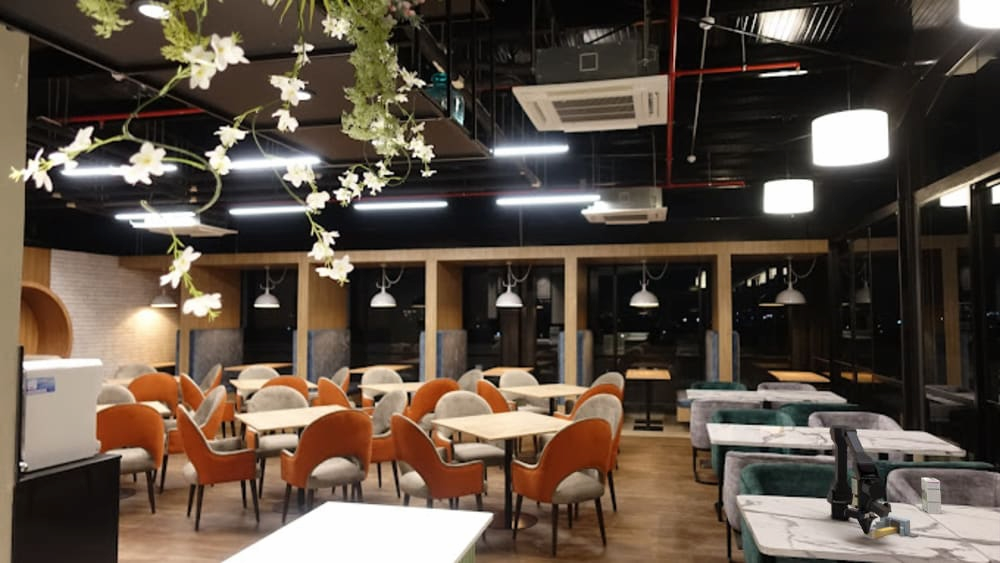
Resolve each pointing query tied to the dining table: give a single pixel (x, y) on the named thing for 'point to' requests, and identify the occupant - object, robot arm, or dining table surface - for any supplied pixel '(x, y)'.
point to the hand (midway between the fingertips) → (866, 534)
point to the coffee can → (854, 489)
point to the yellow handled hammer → (884, 530)
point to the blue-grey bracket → (903, 522)
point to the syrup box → (931, 495)
